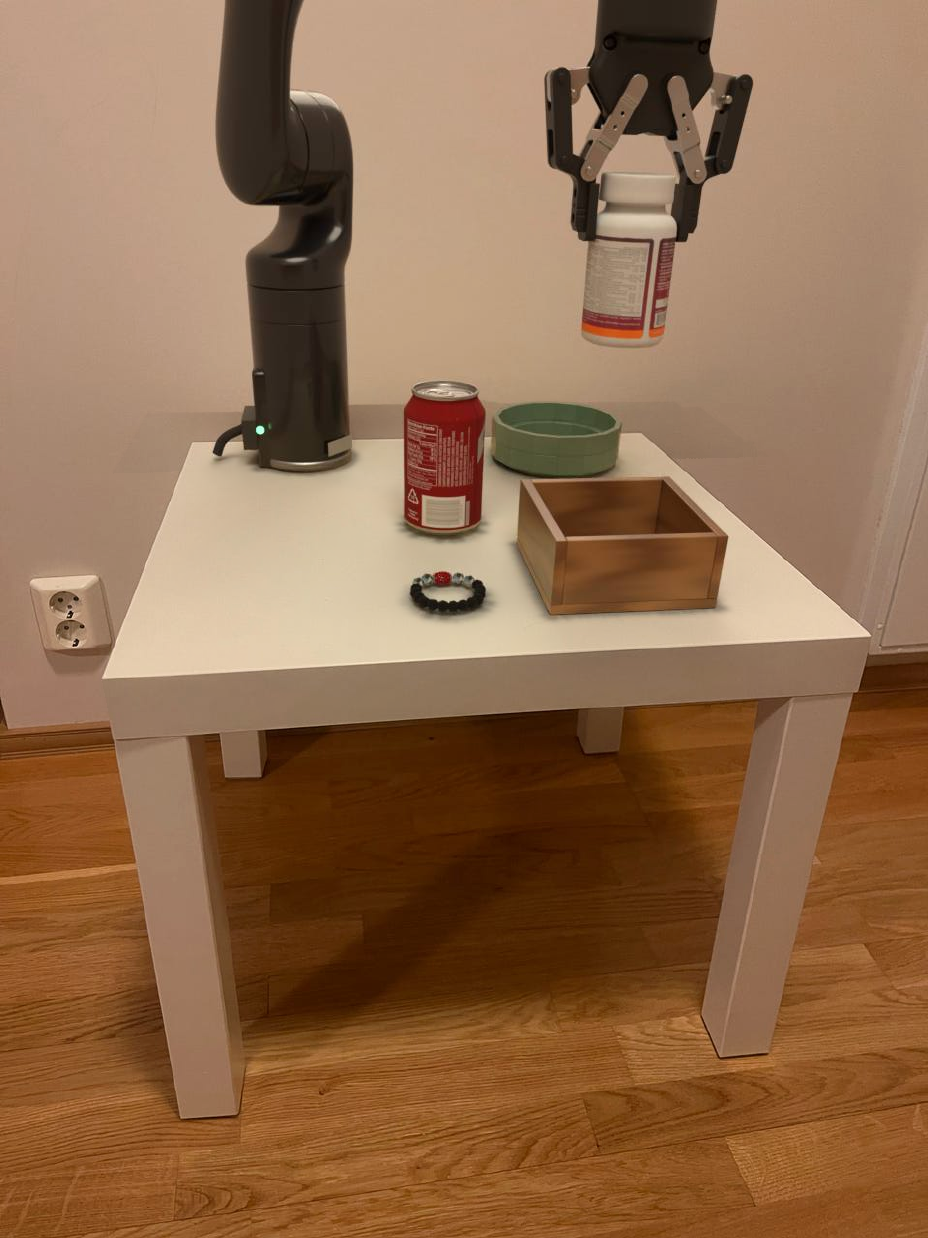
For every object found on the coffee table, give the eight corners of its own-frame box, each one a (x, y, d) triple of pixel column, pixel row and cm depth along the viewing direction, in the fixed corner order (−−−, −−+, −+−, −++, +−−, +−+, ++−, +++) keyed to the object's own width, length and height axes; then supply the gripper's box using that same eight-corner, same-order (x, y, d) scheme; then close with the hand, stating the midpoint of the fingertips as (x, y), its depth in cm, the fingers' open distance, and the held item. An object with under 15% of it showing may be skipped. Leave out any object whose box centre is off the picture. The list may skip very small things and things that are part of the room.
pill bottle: (636, 331, 72) (654, 171, 66) (678, 347, 67) (702, 176, 61) (565, 334, 70) (578, 170, 64) (604, 351, 65) (621, 175, 59)
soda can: (472, 544, 76) (478, 402, 70) (395, 535, 77) (394, 395, 72) (487, 514, 82) (493, 381, 76) (414, 507, 83) (415, 375, 77)
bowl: (504, 482, 90) (506, 438, 88) (482, 441, 101) (484, 401, 99) (632, 479, 92) (637, 436, 89) (597, 439, 103) (601, 400, 101)
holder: (550, 615, 65) (556, 541, 63) (516, 544, 76) (520, 478, 74) (716, 608, 67) (729, 535, 64) (660, 540, 78) (669, 475, 75)
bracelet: (479, 578, 70) (479, 567, 70) (492, 613, 65) (493, 601, 65) (405, 582, 69) (405, 570, 69) (414, 617, 64) (414, 604, 64)
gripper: (745, -32, 61) (707, 236, 69) (537, -45, 59) (522, 233, 67) (797, -51, 55) (748, 248, 63) (565, -66, 53) (545, 245, 60)
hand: (631, 239), depth 65 cm, fingers closed on pill bottle, 6 cm apart
